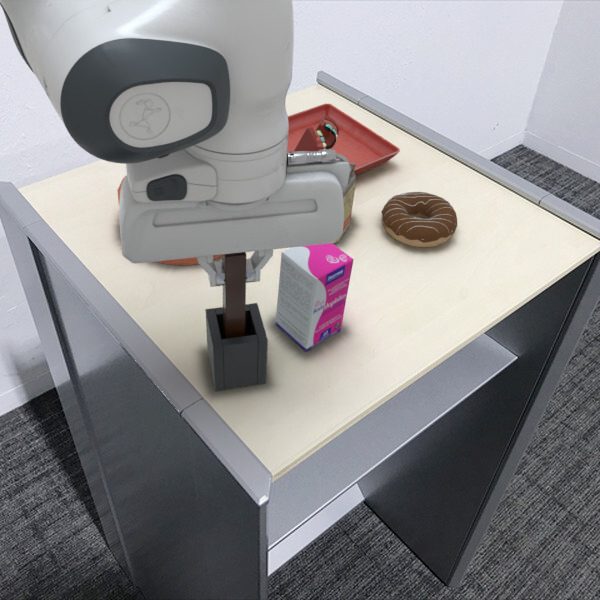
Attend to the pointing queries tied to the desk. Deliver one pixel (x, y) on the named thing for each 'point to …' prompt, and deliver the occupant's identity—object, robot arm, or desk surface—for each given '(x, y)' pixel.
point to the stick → (234, 295)
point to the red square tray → (344, 137)
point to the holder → (237, 350)
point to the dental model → (319, 136)
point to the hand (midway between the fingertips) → (233, 280)
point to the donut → (419, 232)
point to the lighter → (348, 199)
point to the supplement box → (312, 292)
